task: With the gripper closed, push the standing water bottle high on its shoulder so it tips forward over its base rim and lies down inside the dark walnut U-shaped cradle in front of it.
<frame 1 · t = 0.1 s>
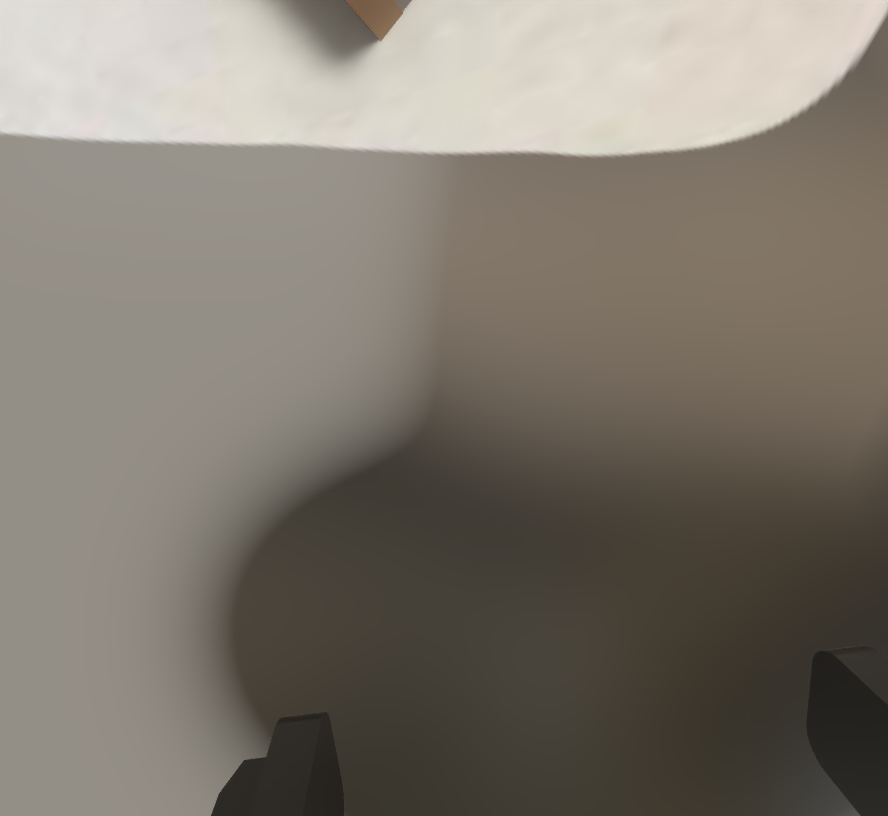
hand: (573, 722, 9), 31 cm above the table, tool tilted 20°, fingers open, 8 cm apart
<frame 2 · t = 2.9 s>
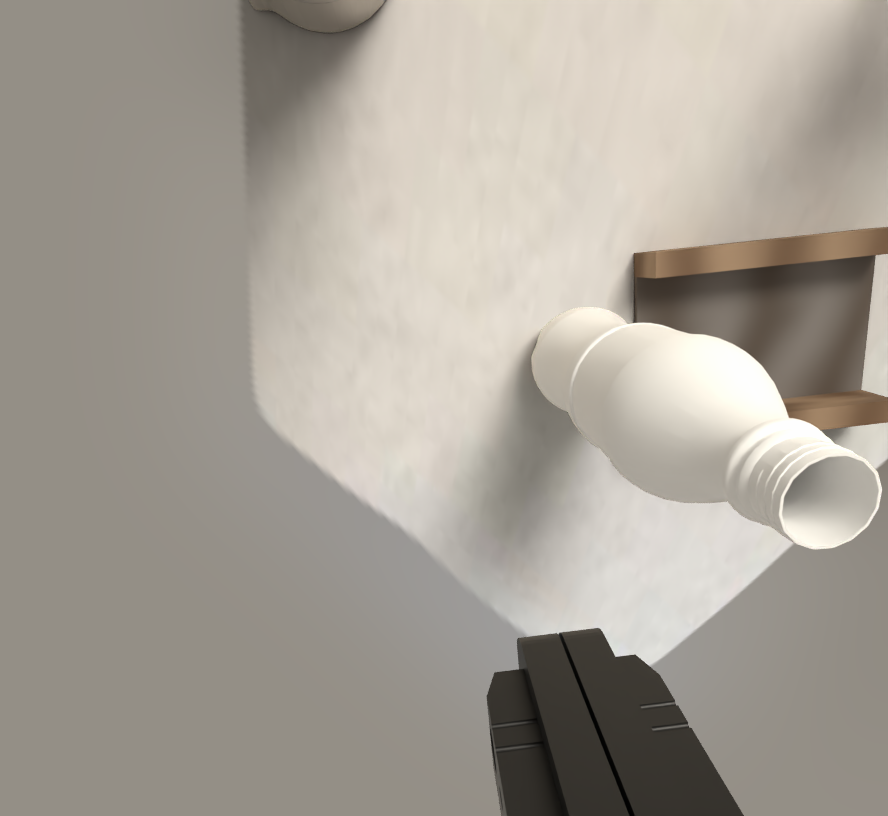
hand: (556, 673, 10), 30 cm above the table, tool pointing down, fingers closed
walnut cradle: (749, 334, 40), on the table
water bottle: (572, 353, 39), on the table
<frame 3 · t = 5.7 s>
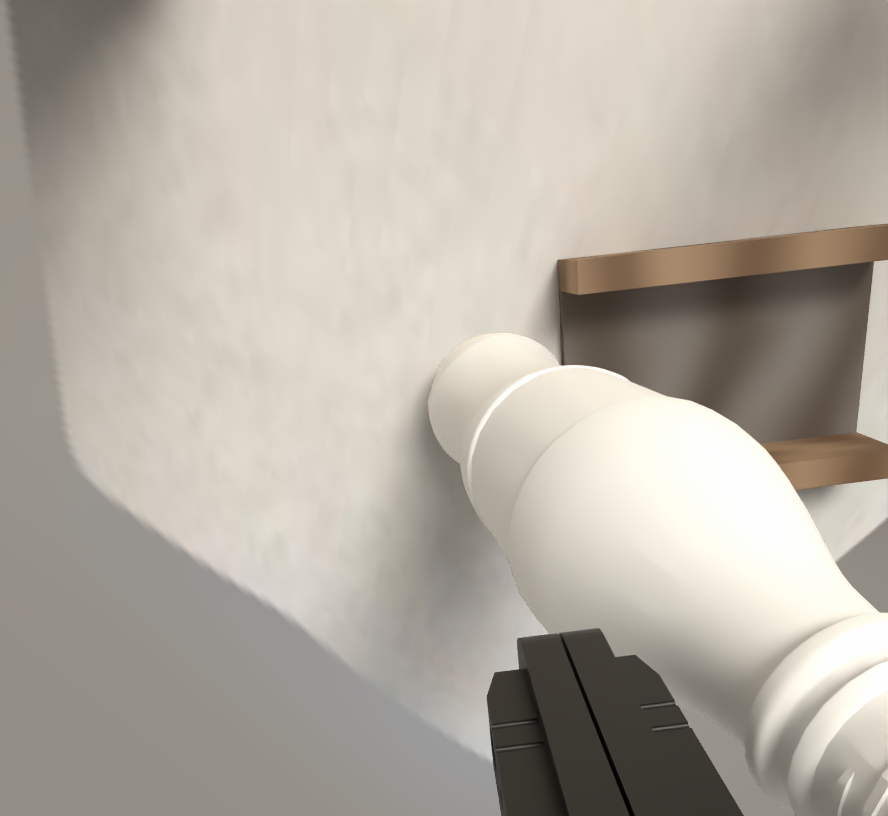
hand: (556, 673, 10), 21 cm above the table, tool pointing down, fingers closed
walnut cradle: (711, 363, 31), on the table
water bottle: (484, 391, 30), on the table, touching gripper
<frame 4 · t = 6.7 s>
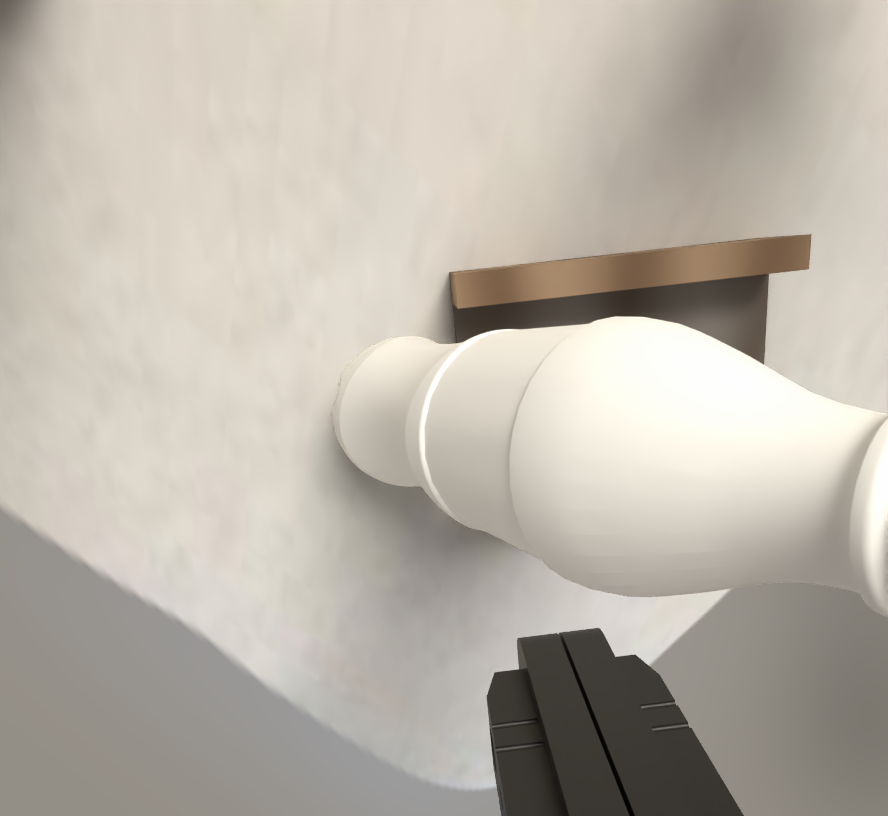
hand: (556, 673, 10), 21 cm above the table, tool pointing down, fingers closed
walnut cradle: (611, 375, 31), on the table
water bottle: (384, 406, 29), point 1 cm above the table
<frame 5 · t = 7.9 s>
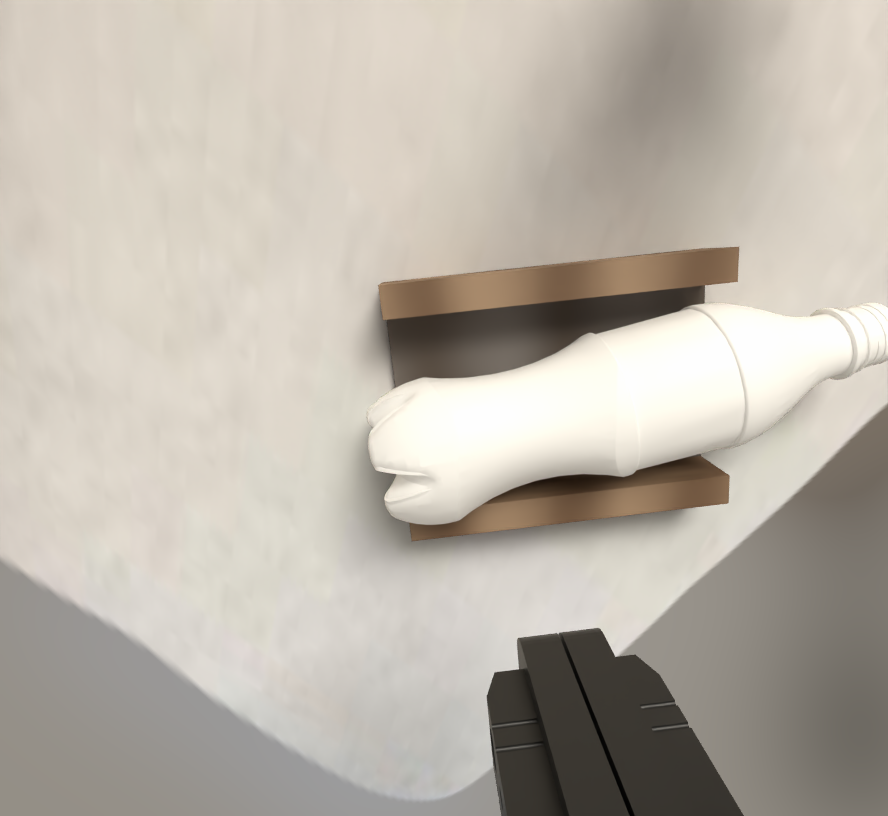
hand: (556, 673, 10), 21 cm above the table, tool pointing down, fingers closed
walnut cradle: (549, 386, 30), on the table
water bottle: (375, 465, 27), point 4 cm above the table, touching walnut cradle
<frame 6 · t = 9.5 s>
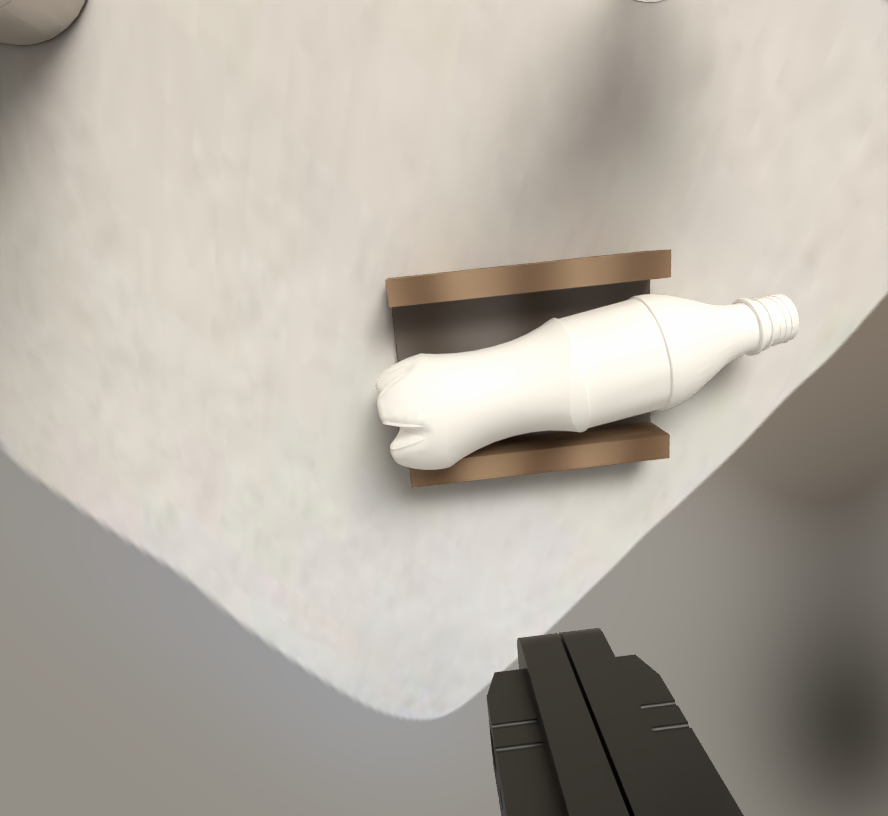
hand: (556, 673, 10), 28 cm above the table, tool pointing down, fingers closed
walnut cradle: (524, 363, 37), on the table
water bottle: (383, 424, 33), point 4 cm above the table, touching walnut cradle
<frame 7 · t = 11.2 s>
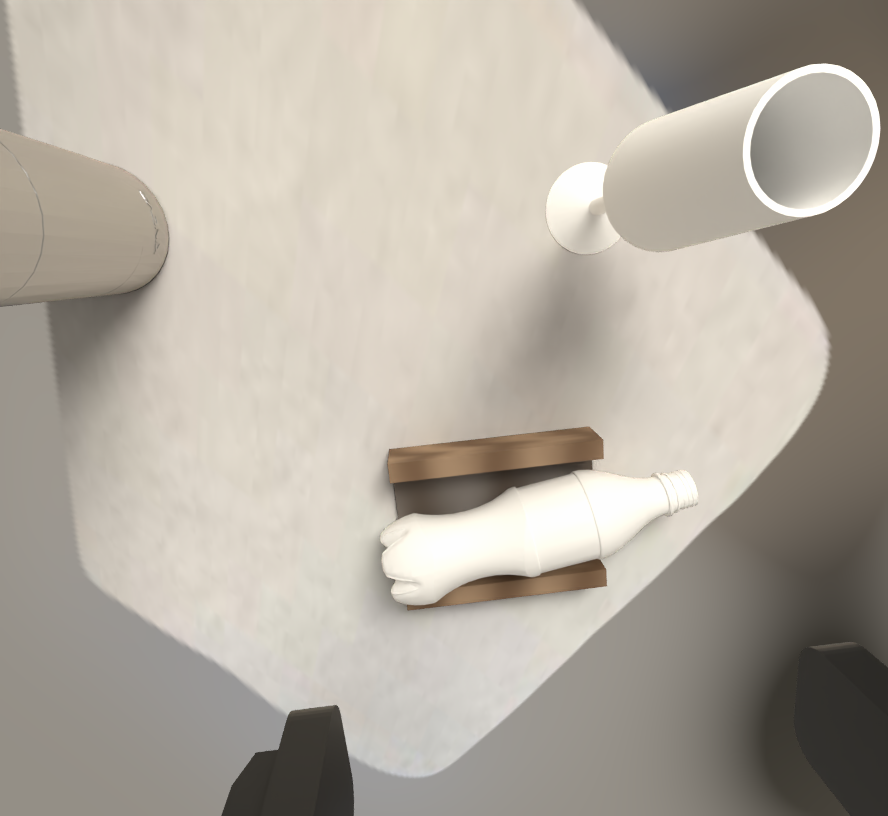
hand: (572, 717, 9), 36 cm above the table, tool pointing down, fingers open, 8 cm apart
walnut cradle: (495, 509, 47), on the table
water bottle: (385, 567, 44), point 4 cm above the table, touching walnut cradle
champagne flute: (588, 209, 42), on the table
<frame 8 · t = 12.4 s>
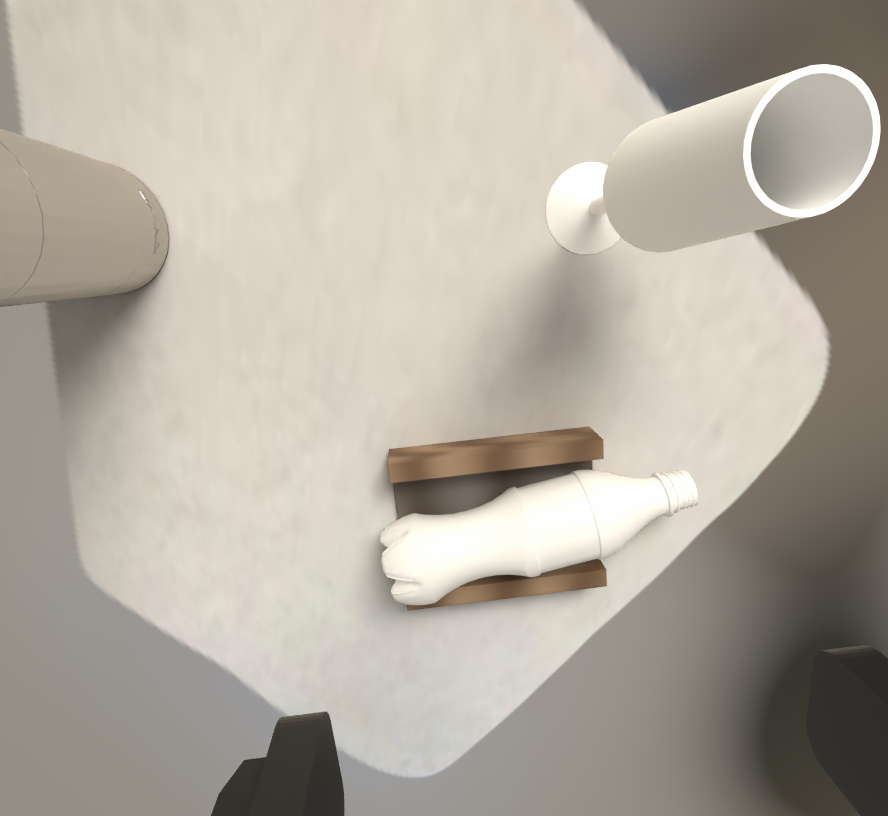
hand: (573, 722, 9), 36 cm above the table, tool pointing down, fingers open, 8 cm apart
walnut cradle: (495, 509, 47), on the table
water bottle: (385, 567, 44), point 4 cm above the table, touching walnut cradle
champagne flute: (588, 209, 42), on the table
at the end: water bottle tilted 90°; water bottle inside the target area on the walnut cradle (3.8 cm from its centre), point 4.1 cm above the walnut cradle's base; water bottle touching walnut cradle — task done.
